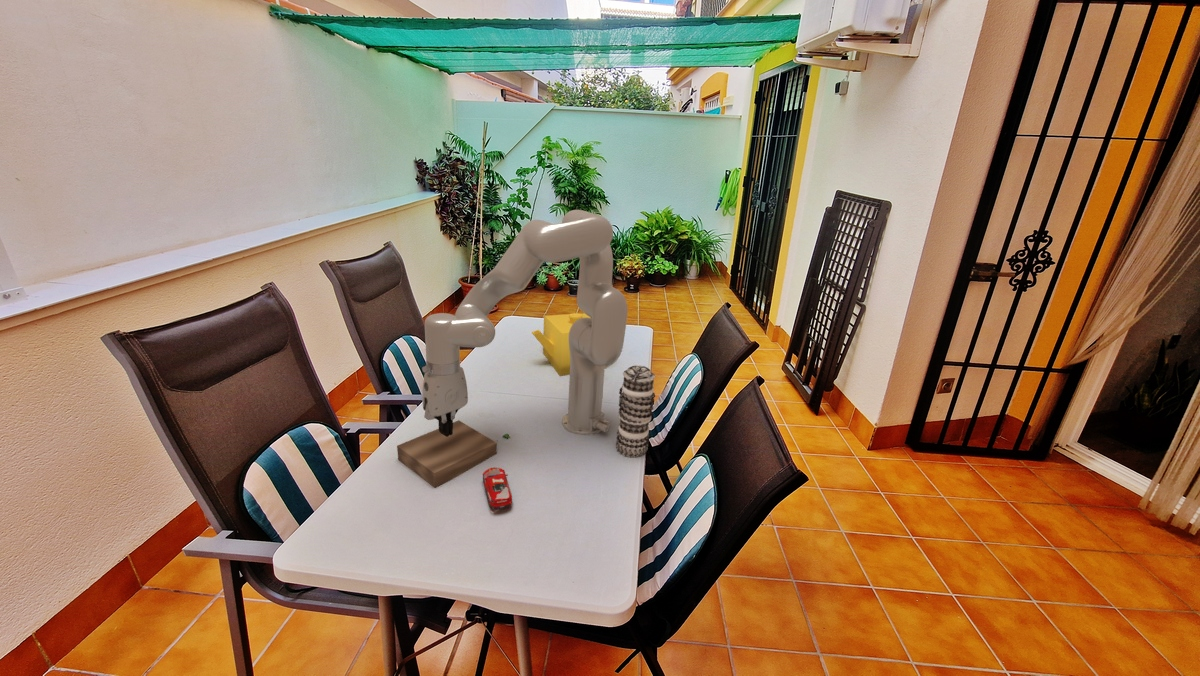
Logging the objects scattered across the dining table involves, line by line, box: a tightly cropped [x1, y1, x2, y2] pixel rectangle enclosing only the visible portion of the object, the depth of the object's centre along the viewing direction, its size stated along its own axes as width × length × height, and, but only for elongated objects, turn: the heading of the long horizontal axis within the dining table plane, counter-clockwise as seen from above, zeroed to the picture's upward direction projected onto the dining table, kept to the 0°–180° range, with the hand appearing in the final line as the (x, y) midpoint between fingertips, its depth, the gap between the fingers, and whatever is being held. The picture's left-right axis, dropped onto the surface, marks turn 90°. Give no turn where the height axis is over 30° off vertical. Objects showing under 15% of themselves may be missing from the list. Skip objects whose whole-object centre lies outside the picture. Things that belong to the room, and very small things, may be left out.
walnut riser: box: [396, 419, 498, 489], centre depth 124 cm, size 16×18×4 cm
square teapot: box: [531, 312, 607, 377], centre depth 176 cm, size 35×30×21 cm
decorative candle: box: [615, 365, 656, 459], centre depth 126 cm, size 9×9×25 cm
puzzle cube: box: [502, 433, 511, 440], centre depth 132 cm, size 4×3×2 cm, turn 145°
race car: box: [482, 467, 513, 511], centre depth 112 cm, size 13×5×4 cm, turn 20°
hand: (446, 433), depth 122 cm, fingers closed
